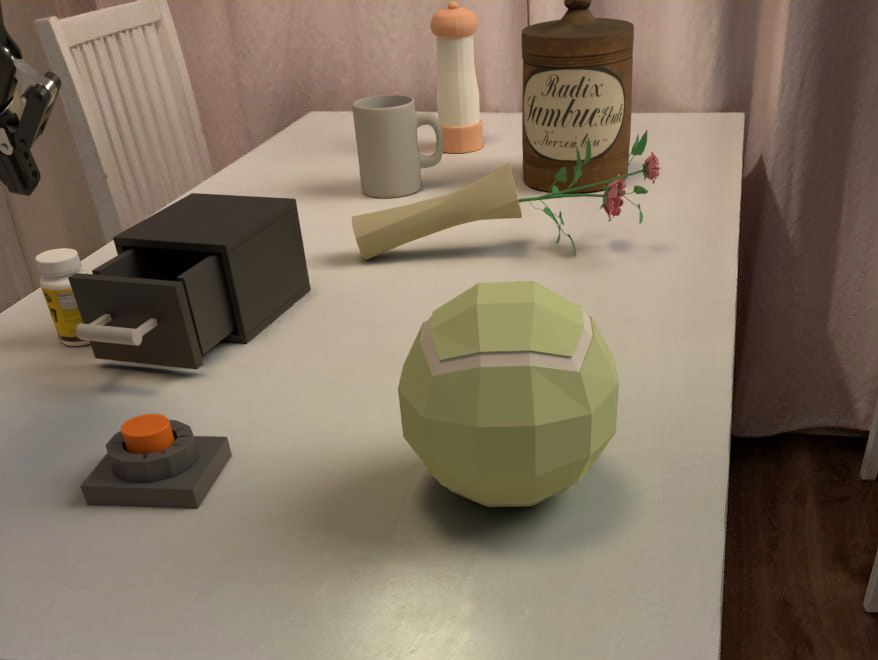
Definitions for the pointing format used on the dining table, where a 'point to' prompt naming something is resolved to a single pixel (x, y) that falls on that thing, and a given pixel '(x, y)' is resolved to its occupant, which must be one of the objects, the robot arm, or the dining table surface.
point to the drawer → (155, 306)
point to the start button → (147, 433)
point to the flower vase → (485, 205)
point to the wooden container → (576, 98)
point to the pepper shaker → (457, 79)
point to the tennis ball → (509, 394)
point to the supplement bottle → (61, 291)
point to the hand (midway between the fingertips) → (26, 188)
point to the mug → (392, 145)
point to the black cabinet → (236, 250)
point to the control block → (158, 472)
